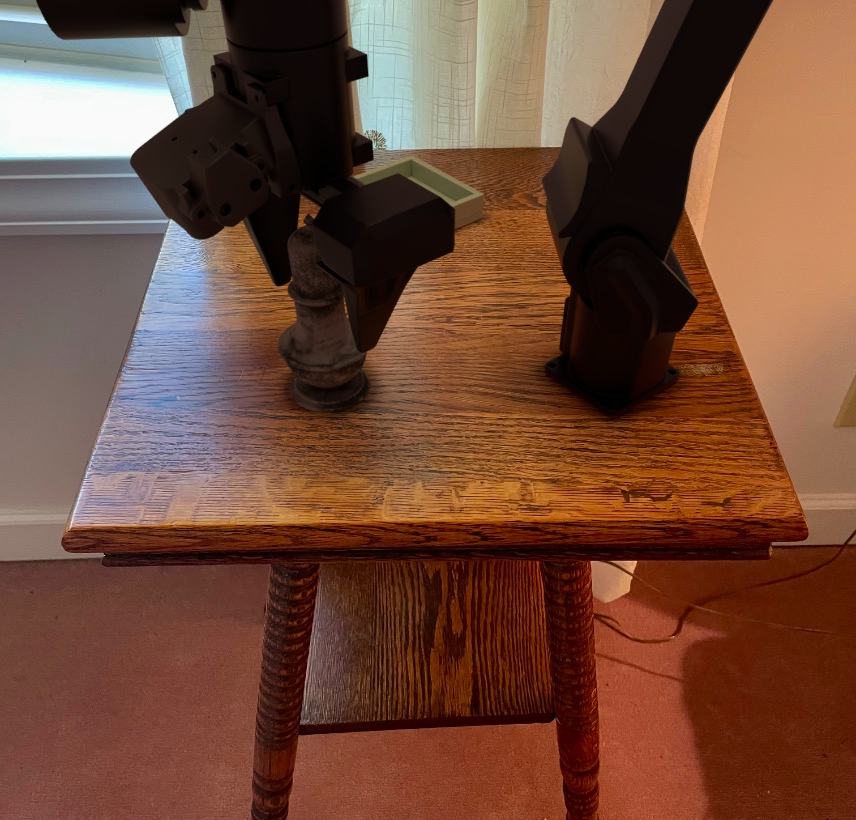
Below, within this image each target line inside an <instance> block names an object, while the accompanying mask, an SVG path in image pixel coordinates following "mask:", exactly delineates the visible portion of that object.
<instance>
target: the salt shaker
mask: <svg viewBox="0 0 856 820" xmlns="http://www.w3.org/2000/svg"><path fill="white" fill-rule="evenodd" d="M314 219H315V217H313V216H312V215H311V214H310V213H307V214H306V215H305V216H304V219H302V222H303V224H304V226H300V227H298V229H297V230H295V231H294V232H293V233H292V234H291V236H290V237H289V239H288V245H287V246H288V254H289V260H290V267H291V274H292V278H291V281H290V282H289V283H288V285H287V295H288V297H289V298H290V299H291V300H293V301H294V307H295V315H296V316H295V317H296V321H295V322H293V323H292V324H291V325H289V326H288V327H286V329H284V330H283V332H282V333H281V334H280V336H279V337H278V340H277V352H278V354H279V356H280V358H281V359H282V360H283V361H284V362H285V364H286V366H287V368H288V369H289V370H290V372H291V373H292V376H293V378H292V379H291V381H290V383H289V394H290V397H291V398H292V400H293V402H295V404H297V405H298V406H299V407H301V408H304V409H306V410H308V411H313V412H317V413H335V412H340V411H344V410H347V409H350V408H352V407H355V406H357V405H358V404H360V403H361V402H362V401H363V400H364V399H365V398H366V396H368V393H370V388H371V382H370V377H369V375H368V374H367V372H366V371H365V370H364V369H363V367H364V364H365V361H366V358H367V355H368V352H369V351H367V352H365V353H360V352H359V351H358V350H357V348H356V344H355V341H354V338H353V334H352V331H351V326H350V322H349V317H348V315H347V314H346V304H345V299H344V294H343V289H342V284H341V283H339V282H338V281H336V280H335V279H334V278H332V277H331V276H330V275H328V274H327V273H325V272H324V271H323V270H321V269H320V268H319V267H317V265H316V264H315V263H316V262H318V261H321V260H322V258H321V256H320V254H319V252H318V250H317V249H316V247H315V245H314V239H313V231H312V222H313V220H314Z"/></svg>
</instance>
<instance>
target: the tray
mask: <svg viewBox="0 0 856 820" xmlns="http://www.w3.org/2000/svg"><path fill="white" fill-rule="evenodd" d="M397 173H399V174H401V175H403V176H405V177H406V178H408V179H410V180H412V181H414V182H415V183H417V184H419V185H421V186H422V187H424V188H426V189H428V190H429V191H431V192H433V193H435V194H437V195H438V196H440V197H442V198H443V199H444V200H445V201H446V202H447V203H449V204H450V205H451V206H452V207H453V208H454V209H455V230H457V229H459V228H461V227H465V226H467V225H469V224H471V223H473V222H477V221H479V220H481V219H483V218H484V205H485V202H484V201H485V194H484V193H482V192H481V191H479V190H478V189H476V188H473V187H472V186H471V185H468V184H466V183H465V182H463V181H461V180H458V179H457V178H455V177H454V176H451V175H450V174H447V173H446V172H445V171H442V170H440V169H438V168H437V167H434V166H433V165H431V164H429V163H427V162H425V161H423V160H422V159H420V158H417V157H416V156H414V155H410V156H409V155H408V156H406V157H404V158H401V159H398V160H396V161H395V160H394V161H392V162H389V163H386V164H384V165H381V166H379V167H376V168H373V169H370V170H368V171H365V172H362V173H359V174H356V175H352V176H353V177H355V178H356V179H358V180H360V181H361V182H363V183H365V184H366V185H367V184H370V183H372V182H375V181H378V180H380V179H383V178H386V177H389V176H391V175H394V174H397Z"/></svg>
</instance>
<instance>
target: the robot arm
mask: <svg viewBox="0 0 856 820" xmlns="http://www.w3.org/2000/svg"><path fill="white" fill-rule="evenodd" d="M35 2H36V4H37V7H38V9H39V11H40V14H41V15H42V17H43V20H44V21H45V22H46V24H47V26H48V28H49V30H50V31H51V32H52V33H53V34H55V36H56V37H57V38H58V39H60V40H63V41H74V40H75V41H76V40H79V41H80V40H107V39H108V40H110V39H142V38H143V39H145V38H176V37H178V38H179V37H182V38H183V37H186V36H188V35H189V31H190V28H191V27H190V25H191V13H192V12H191V11H194V12H199V11H200V12H201V11H202V12H203V11H204V12H205V11H207V9H208V6H209V0H35ZM773 2H774V0H664V1H663V2H662V5H661V7H660V9H659V11H658V13H657V16H656V18H655V20H654V22H653V25H652V27H651V29H650V31H649V34H648V36H647V38H646V39H645V42H644V43H643V47H642V49H641V51H640V53H639V55H638V57H637V60H636V61H635V64H634V66H633V68H632V71H631V73H630V75H629V77H628V79H627V82H626V84H625V86H624V88H623V89H622V92H621V94H620V96H619V97H618V99H617V100H616V101H615V103H614V104H613V105H612V106H611V107H610V108H609V109H608V110H607V111H606V112H605V113H604V114H603V115H602V116H601V117H600V118H599V119H598V120H597V121H596V122H595V123H594V124H593V125H592V126H591V125H590V124H588V123H587V122H585V121H582V120H581V119H579V118H577V117H575V116H573V117H570V118H569V120H568V123H567V125H566V128H565V131H564V135H563V139H562V143H561V147H560V149H559V153H558V156H557V158H556V160H555V161H554V163H553V165H552V167H551V168H550V169H549V171H547V172H546V173H545V175H544V176H543V177H542V178H541V184H542V187H543V191H544V194H545V198H546V200H545V215H546V220H547V225H548V227H549V230H550V233H551V237H552V241H553V244H554V248H555V251H556V254H557V257H558V261H559V264H560V268H561V271H562V273H563V276H564V278H565V280H566V283H567V285H569V287H570V291H569V296H566V297H565V299H564V304H563V313H562V322H561V327H560V337H559V344H558V350H559V352H560V353H561V354H559V355H557V356H556V357H553V358H551V359H550V360H548V361H546V363H545V364H544V368H543V369H544V370H543V371H544V373H545V374H546V375H548V376H550V377H551V378H552V379H554V380H555V381H557V382H559V383H560V384H562V385H563V386H564V387H566V388H567V389H569V390H570V391H572V392H573V393H575V394H576V395H578V396H579V397H581V398H582V399H584V400H585V401H587V402H588V403H590V404H591V405H593V406H594V407H595V408H597V409H599V410H600V411H602V412H603V413H605V414H606V415H608V416H609V417H612V418H617V417H619V416H622V415H623V414H625V413H626V412H628V411H630V410H631V409H633V408H635V407H637V406H638V405H640V404H641V403H643V402H644V401H646V400H648V399H650V398H651V397H653V396H654V395H656V394H658V393H660V392H661V391H663V390H664V389H666V388H667V387H669V386H671V385H673V384H674V383H676V382H677V381H678V380H679V378H680V375H681V373H680V370H678V369H677V368H676V367H674V366H673V365H671V364H670V360H671V355H672V351H673V347H674V344H675V338H676V335H677V333H679V332H681V331H682V330H683V329H684V327H685V326H686V324H687V322H688V321H689V320H690V318H692V315H693V314H694V312H695V311H696V309H697V308H698V306H699V300H698V298H697V296H696V294H695V291H694V290H693V288H692V286H691V283H690V281H689V279H688V277H687V275H686V273H685V270H684V269H683V267H682V265H681V263H680V261H679V259H678V257H677V255H676V253H675V250H674V248H673V246H672V245H673V244H674V240H675V238H676V235H677V232H678V229H679V227H680V224H681V221H682V219H683V216H684V212H685V207H686V200H687V195H688V190H689V189H688V188H689V183H690V177H691V171H692V165H693V159H694V154H695V150H696V147H697V144H698V141H699V139H700V137H701V135H702V134H703V132H704V130H705V128H706V126H707V124H708V123H709V121H710V119H711V117H712V115H713V113H714V111H715V109H716V108H717V106H718V104H719V102H720V100H721V98H722V96H724V95H723V94H725V93H724V92H726V89H727V87H728V85H729V84H730V83H731V79H732V78H733V76H734V75H735V73H736V70H737V68H738V67H739V65H740V63H741V61H742V60H743V58H744V56H745V54H746V52H747V50H748V48H749V46H750V45H751V43H752V41H753V39H754V37H755V36H756V33H757V32H758V30H759V27H760V26H761V24H762V22H763V21H764V19H765V17H766V15H767V13H768V11H769V9H770V7H771V6H772V3H773ZM219 4H220V5H219V6H220V11H221V16H222V22H223V26H224V28H223V29H224V33H225V38H226V45H227V50H228V51H224V52H221V53H217V54H213V55H212V58H213V62H214V64H211V65H210V77H211V81H212V90H213V95H211V96H210V97H209V98H206V100H204V101H203V102H200V104H198V105H195V106H193V107H190V108H186V109H185V110H184V112H183V113H181V114H180V115H179V116H177V117H176V118H175V119H173V120H172V121H171V122H170V123H168V124H167V125H165V127H163V128H162V129H160V130H159V131H158V132H157V133H155V134H154V135H153V136H152V137H150V138H149V139H148V140H147V141H145V142H144V143H143V144H141V145H140V146H139V147H138V148H137V149H136V150H134V151H133V153H132V154H131V156H130V160H129V164H130V166H131V168H132V169H133V171H134V173H135V174H136V175H137V176H138V178H139V179H140V180H141V182H142V184H143V185H144V186H145V188H146V189H147V191H148V192H149V194H150V195H151V197H152V198H153V200H154V201H155V202H156V204H157V205H158V207H159V208H160V210H161V211H162V212H163V214H164V215H165V217H166V218H168V219H169V220H171V221H173V222H174V223H175V224H177V225H178V226H179V227H181V228H182V229H183V230H184V231H185V232H186V233H187V234H188V235H189V236H190V237H191V238H192V239H194V240H197V241H204V240H208V239H211V238H213V237H215V236H217V234H219V233H220V232H222V231H223V230H224V229H225V228H235V227H237V225H238V224H240V223H241V222H242V223H243V225H244V227H245V229H246V231H247V234H248V235H249V237H250V239H251V242H252V243H253V245H254V247H255V249H256V251H257V254H258V256H259V258H260V260H261V261H262V264H263V266H264V267H265V269H266V272H267V273H268V275H269V278H270V280H271V282H272V284H273V285H274V286H275V287H278V288H280V287H283V286H285V285H287V284H288V285H289V283H290V282H291V281H292V274H291V267H290V260H289V254H288V246H287V245H288V239H289V237H290V236H291V234H292V233H293V232H294V231H295V230H297V229H299V218H300V209H301V199H302V198H301V197H304V198H305V199H306V200H308V201H310V202H311V203H313V204H315V205H316V206H318V207H319V210H318V212H317V213H316V215H315V217H314V220H313V222H312V231H313V239H314V245H315V247H316V249H317V250H318V252H319V254H320V256H321V258H322V260H321V261H318V262H316V263H315V264H316V265H317V267H319V268H320V269H321V270H323V271H324V272H325V273H327V274H328V275H330V276H331V277H332V278H334V279H335V280H336V281H338V282H339V283H341V284H342V289H343V294H344V304H345V309H346V311H347V317H349V322H350V326H351V331H352V334H353V338H354V341H355V344H356V348H357V350H358V351H359V352H360V353H365V352H367V351H368V352H369V351H372V350H373V349H375V348H376V347H377V345H378V343H379V341H380V339H381V337H382V335H383V333H384V331H385V329H386V327H387V325H388V323H389V320H390V319H391V317H392V314H393V313H394V310H395V308H396V306H397V305H398V303H399V300H400V299H401V297H402V295H403V292H404V291H405V289H406V287H407V286H408V284H409V282H410V280H411V279H412V277H413V276H414V274H415V273H416V271H417V270H418V268H419V267H421V266H422V267H423V265H426V264H429V263H430V262H434V261H436V260H438V259H440V258H442V257H445V256H448V255H449V254H452V253H454V252H455V251H454V250H455V245H456V229H455V209H454V208H453V207H452V206H451V205H450V204H449V203H447V202H446V201H445V200H444V199H443V198H442V197H440V196H438V195H437V194H435V193H433V192H431V191H429V190H428V189H426V188H424V187H422V186H421V185H419V184H417V183H415V182H414V181H412V180H410V179H408V178H406V177H405V176H403V175H401V174H399V173H397V174H394V175H391V176H389V177H386V178H383V179H380V180H378V181H375V182H372V183H370V184H367V185H366V184H365V183H363V182H361V181H360V180H358V179H356V178H355V177H353V176H354V168H355V167H358V166H361V165H364V164H367V163H370V162H373V161H375V158H374V157H375V156H374V155H375V154H374V141H373V140H372V139H370V138H368V137H367V136H365V135H363V134H361V133H359V132H357V131H356V122H355V121H356V120H355V111H354V97H353V96H354V94H353V82H355V81H359V80H362V79H366V78H368V77H370V76H369V75H370V73H369V59H368V57H369V56H368V53H365V52H363V51H361V50H359V49H357V48H355V47H352V46H350V41H349V29H348V19H347V5H346V4H347V3H346V0H219ZM368 352H367V353H368Z"/></svg>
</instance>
